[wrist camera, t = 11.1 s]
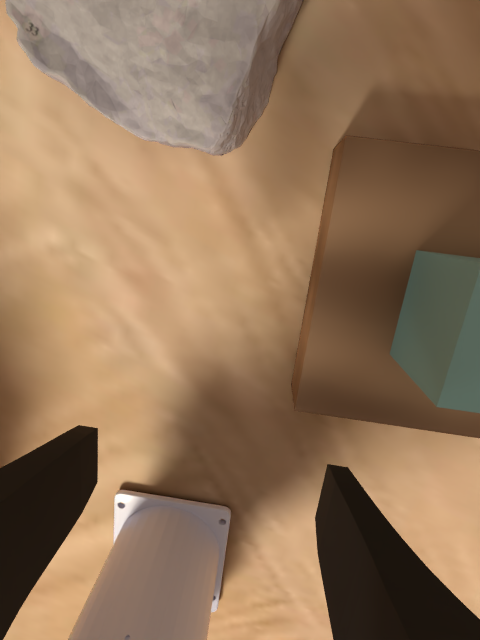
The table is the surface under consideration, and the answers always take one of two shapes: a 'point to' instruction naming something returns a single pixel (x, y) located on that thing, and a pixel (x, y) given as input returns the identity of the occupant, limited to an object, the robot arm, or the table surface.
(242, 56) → the stone block
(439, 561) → the table surface
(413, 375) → the teal cube
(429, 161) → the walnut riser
